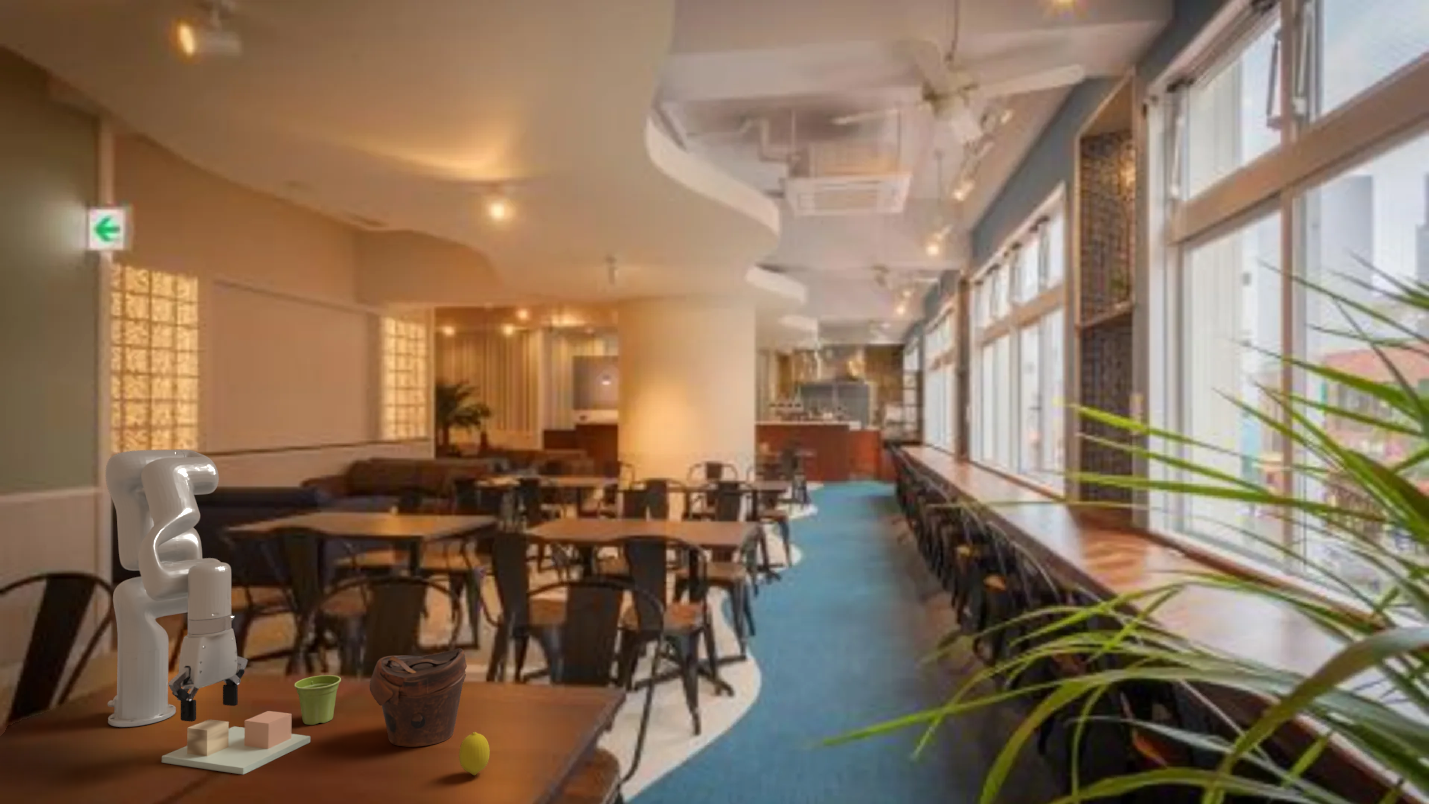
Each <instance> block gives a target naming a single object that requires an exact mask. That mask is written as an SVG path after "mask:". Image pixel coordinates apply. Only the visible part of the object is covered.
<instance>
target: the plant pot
mask: <svg viewBox="0 0 1429 804" xmlns="http://www.w3.org/2000/svg"><path fill="white" fill-rule="evenodd" d="M341 681H342V678H341V677H340V676H338V675H335V674H334V675H332V674H330V675H329V674H328V675H327V674H325V675H324V674H323V675H314V676H310V677H306V678H302V679H300V680H298V681H296V682H294V686H293V687H294V688H295V690H296V692H297V694H298V698H299V699H298V700H299V706H300V711H301V719H302V723H303V724H304V725H309V726H310V725H311V726H313V725H314V726H315V725H317V724H319V723H321V724H325V723H328V722H330V721H331V720H333V718H334V712H335V706H336V698H337V691H338V689H339V685H340V683H341Z"/></svg>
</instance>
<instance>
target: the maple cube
mask: <svg viewBox="0 0 1429 804" xmlns="http://www.w3.org/2000/svg"><path fill="white" fill-rule="evenodd" d="M229 723H230V722H229V721H225V720H217V719H210V718H209V719H207V720H203V721H201V722H199V723H196V724H193V725H191V726H189V727H187V737H186V738H187V739H186V742H187V743H186V746H187V754H194V755H201V756H209V755H211V754H213V753H216V752H218V751H220V750H223V749H225V748H227V747H228V738H229V728H230V727H229Z"/></svg>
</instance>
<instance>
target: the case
mask: <svg viewBox="0 0 1429 804" xmlns="http://www.w3.org/2000/svg"><path fill="white" fill-rule="evenodd" d="M467 667H468V666H467V661H466V655H465V651H464V650H463V648H460V647H459V648H456V649H453V650H448V651H443V652H439V653H435V654H428V655H423V656H421V655H406V654H405V655H402V654H401V655H400V654H399V655H387V656H382V657H381V658H379V659H378V660H377V662H376V664H375V666H374V669H373V671H372V675H371V677H370V681H369V691H370V694H371V696H372V697H373V700H375V701H376V703H377V704H378V706H381V709H382V713H383V718H384V722H385V723H384V724H385V727H386V732H387V735H388V741H389V742H390V743H391V744H392V745H395V746H399V747H406V748H407V747H408V748H415V747H416V748H417V747H426V746H431V745H436V744H440V743H442V742H445V741H447V740H449V739H450V738H451V737H452V736H453V734H454V731H455V728H456V727H455V726H456V721H457V716H458V711H459V705H460V701H461V697H462V696H461V694H462V690H463V686H464V685H463V684H464V682H465V679H466V676H467V672H466V670H467Z"/></svg>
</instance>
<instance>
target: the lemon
mask: <svg viewBox="0 0 1429 804" xmlns="http://www.w3.org/2000/svg"><path fill="white" fill-rule="evenodd" d="M459 747H460V748H459V752H458V754H459V755H458V758H459V759H458V760H459V764H460V766H461V768H462V769H463V770H464V771H465V772H467V773H470V774H471V776H476V775H477V774H478V773H479V772H481V771H483V770H484V769H485V768H486V766H487V765H488V764H489V759H490V753H491V751H490V745H489V742H488V740H487V738H486V737H485V736H484V735H483V734H481V733H478V732H476V731H474V732H471V734H468V735H467V736H466V737H465V738H464V739H463V740H462V741H461V745H460V746H459Z"/></svg>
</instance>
